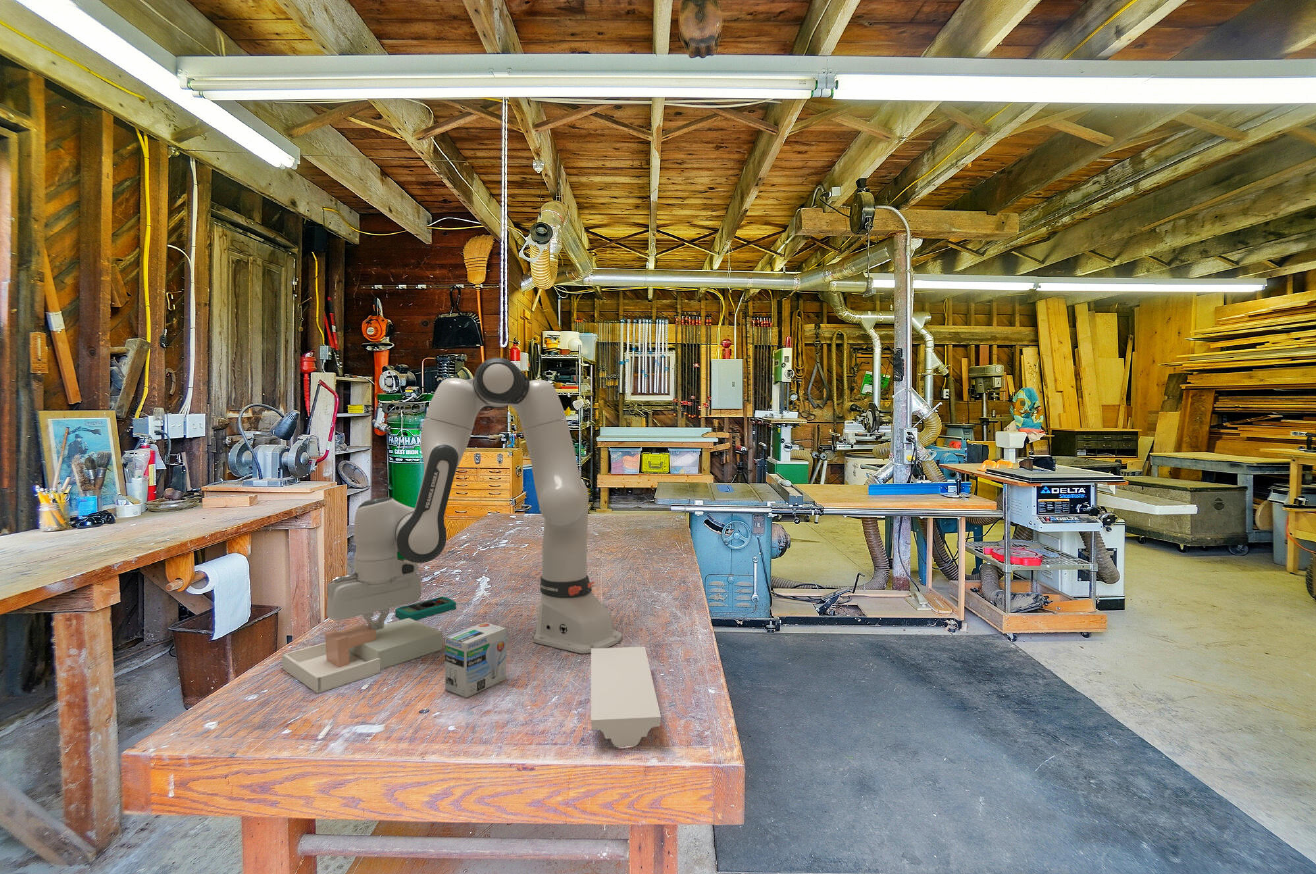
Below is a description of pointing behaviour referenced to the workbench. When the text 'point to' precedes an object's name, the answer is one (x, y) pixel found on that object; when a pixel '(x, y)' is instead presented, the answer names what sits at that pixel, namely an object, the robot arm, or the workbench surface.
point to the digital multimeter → (425, 608)
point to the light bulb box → (475, 659)
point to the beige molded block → (622, 695)
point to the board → (399, 643)
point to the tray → (326, 668)
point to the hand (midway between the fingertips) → (376, 629)
